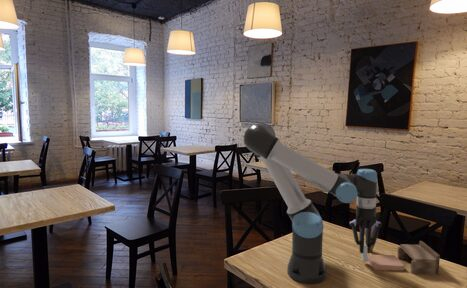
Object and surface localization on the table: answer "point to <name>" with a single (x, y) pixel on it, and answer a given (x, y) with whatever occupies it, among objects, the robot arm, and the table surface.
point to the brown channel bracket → (420, 258)
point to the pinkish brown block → (385, 262)
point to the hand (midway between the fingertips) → (364, 260)
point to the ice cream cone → (371, 235)
